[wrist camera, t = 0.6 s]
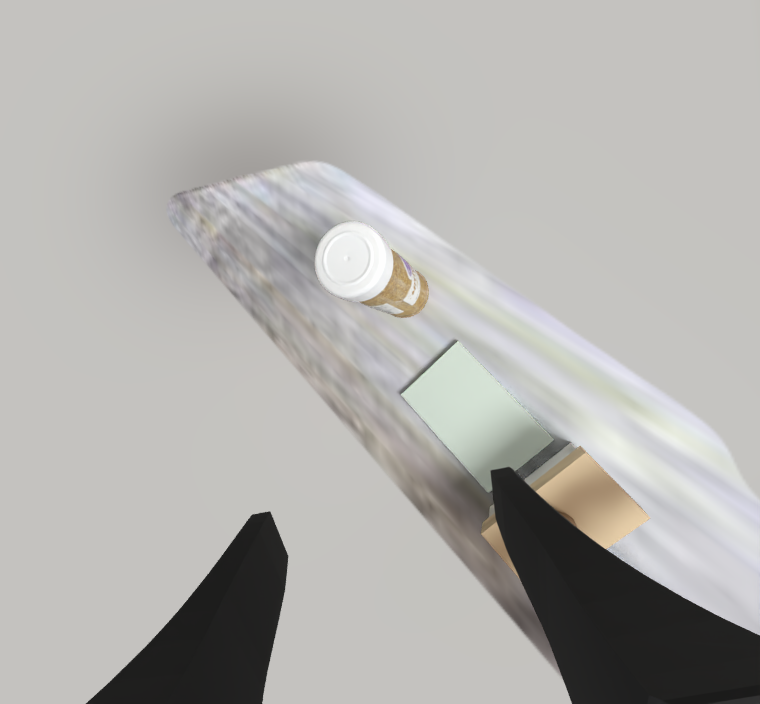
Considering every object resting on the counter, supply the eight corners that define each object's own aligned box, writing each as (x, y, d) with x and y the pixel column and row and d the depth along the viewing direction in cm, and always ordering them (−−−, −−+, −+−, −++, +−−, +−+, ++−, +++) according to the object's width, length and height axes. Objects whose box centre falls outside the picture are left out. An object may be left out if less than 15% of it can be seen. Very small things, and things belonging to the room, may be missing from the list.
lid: (640, 506, 26) (657, 526, 23) (534, 581, 29) (537, 609, 26) (580, 445, 28) (589, 457, 25) (482, 522, 30) (480, 541, 27)
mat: (553, 439, 31) (554, 439, 31) (488, 491, 32) (488, 493, 32) (458, 341, 33) (458, 340, 33) (401, 394, 35) (400, 394, 34)
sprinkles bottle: (440, 292, 34) (401, 255, 21) (403, 329, 35) (345, 314, 22) (405, 258, 35) (347, 202, 22) (371, 294, 36) (297, 261, 23)
